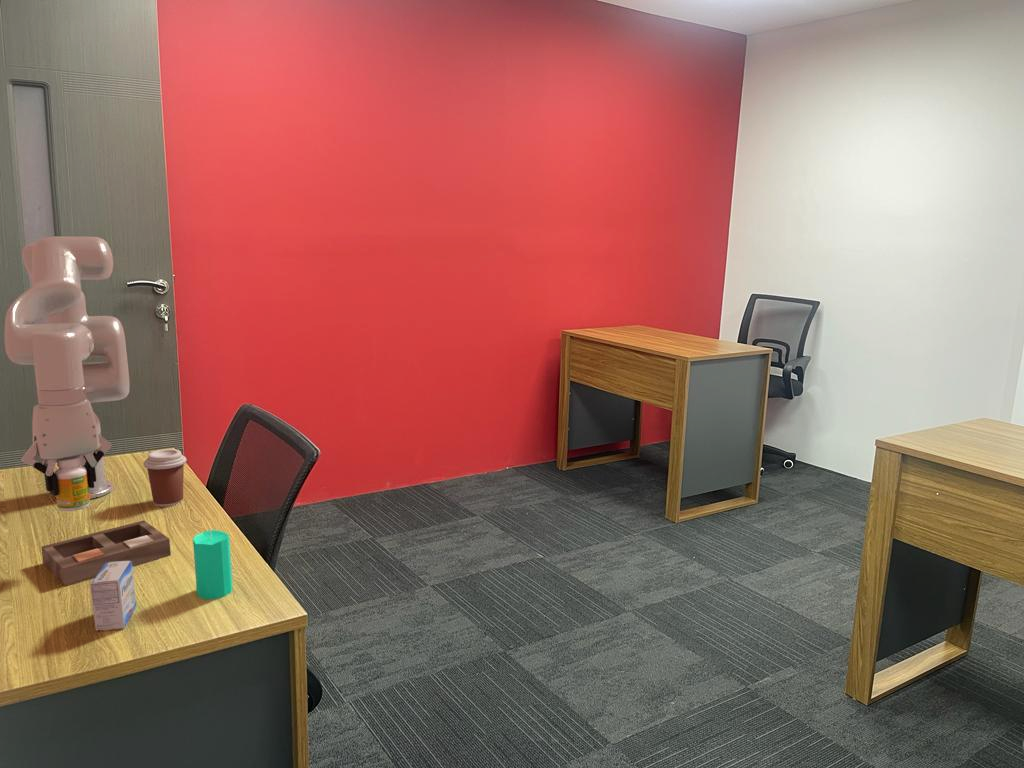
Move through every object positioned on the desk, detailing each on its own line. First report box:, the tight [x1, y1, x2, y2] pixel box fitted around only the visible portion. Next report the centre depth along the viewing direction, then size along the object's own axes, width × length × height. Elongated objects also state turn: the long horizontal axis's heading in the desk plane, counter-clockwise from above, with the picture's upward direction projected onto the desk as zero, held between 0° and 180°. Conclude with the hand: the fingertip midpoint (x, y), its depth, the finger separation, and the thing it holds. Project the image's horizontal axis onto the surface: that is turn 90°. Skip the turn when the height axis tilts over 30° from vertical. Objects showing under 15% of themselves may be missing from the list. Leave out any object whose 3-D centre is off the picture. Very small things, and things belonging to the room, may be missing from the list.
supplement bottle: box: [54, 455, 91, 512], centre depth 144 cm, size 5×5×10 cm
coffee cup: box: [143, 448, 187, 508], centre depth 179 cm, size 9×9×12 cm
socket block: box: [41, 520, 172, 587], centre depth 149 cm, size 13×19×4 cm
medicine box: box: [89, 561, 137, 632], centre depth 127 cm, size 8×4×9 cm, turn 12°
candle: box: [192, 528, 234, 600], centre depth 137 cm, size 6×6×12 cm
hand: (72, 489), depth 144 cm, fingers closed on supplement bottle, 5 cm apart
